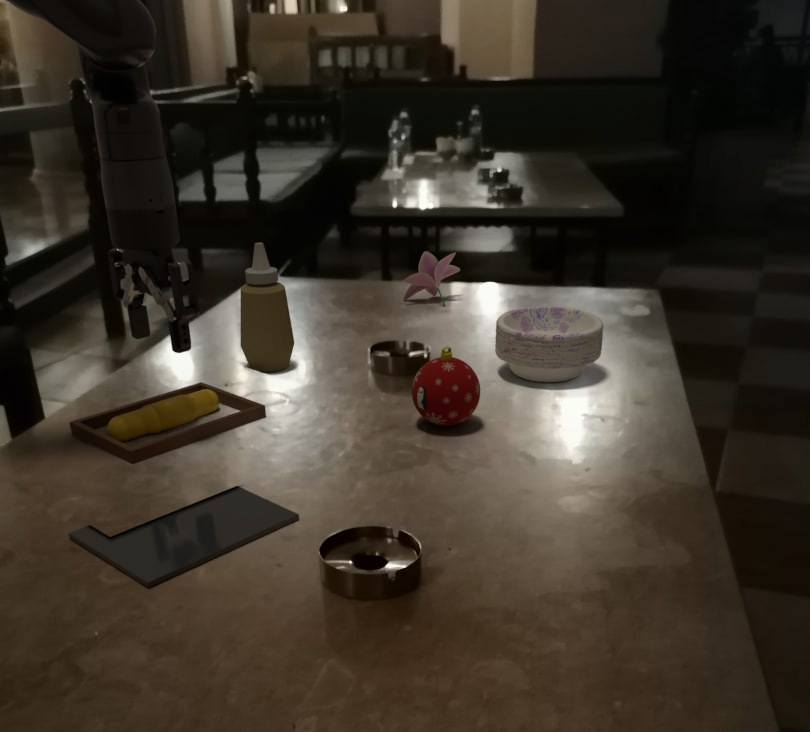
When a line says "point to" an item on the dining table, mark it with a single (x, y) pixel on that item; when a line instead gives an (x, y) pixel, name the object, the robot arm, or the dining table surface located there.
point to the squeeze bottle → (265, 317)
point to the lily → (430, 275)
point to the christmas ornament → (446, 390)
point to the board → (186, 535)
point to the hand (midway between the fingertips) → (161, 344)
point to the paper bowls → (548, 342)
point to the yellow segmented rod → (163, 415)
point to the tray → (246, 414)
